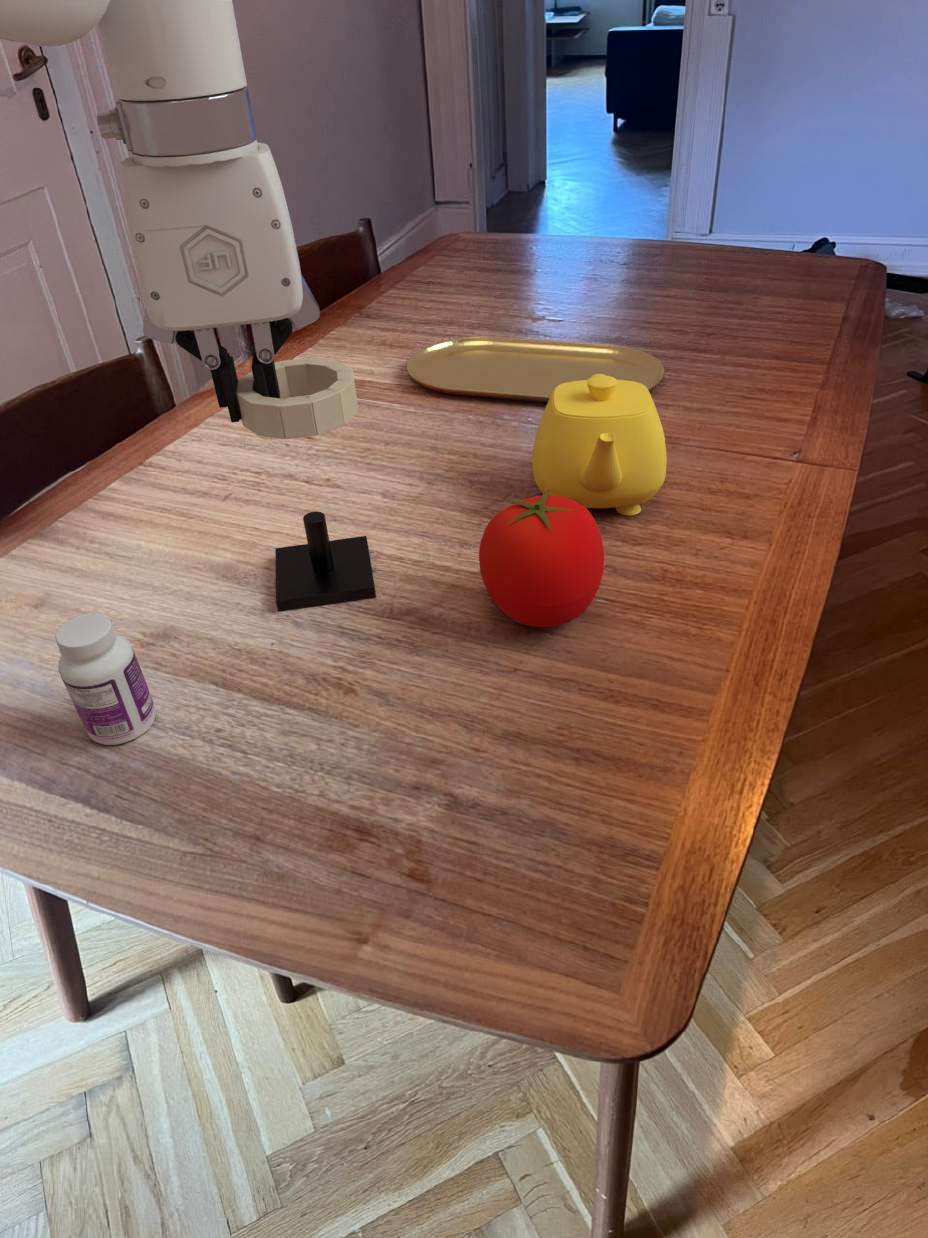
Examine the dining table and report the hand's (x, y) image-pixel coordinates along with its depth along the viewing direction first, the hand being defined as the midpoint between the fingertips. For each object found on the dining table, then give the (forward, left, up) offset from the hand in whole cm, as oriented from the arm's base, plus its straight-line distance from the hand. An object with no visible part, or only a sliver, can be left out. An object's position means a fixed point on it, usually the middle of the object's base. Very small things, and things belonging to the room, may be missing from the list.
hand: (252, 410), depth 64 cm
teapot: (+31, +16, -21) cm, 41 cm away
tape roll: (+3, 0, -1) cm, 3 cm away
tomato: (+21, -1, -21) cm, 30 cm away
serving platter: (+32, +50, -21) cm, 63 cm away
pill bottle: (-14, -8, -21) cm, 27 cm away
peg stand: (+2, +9, -21) cm, 23 cm away
